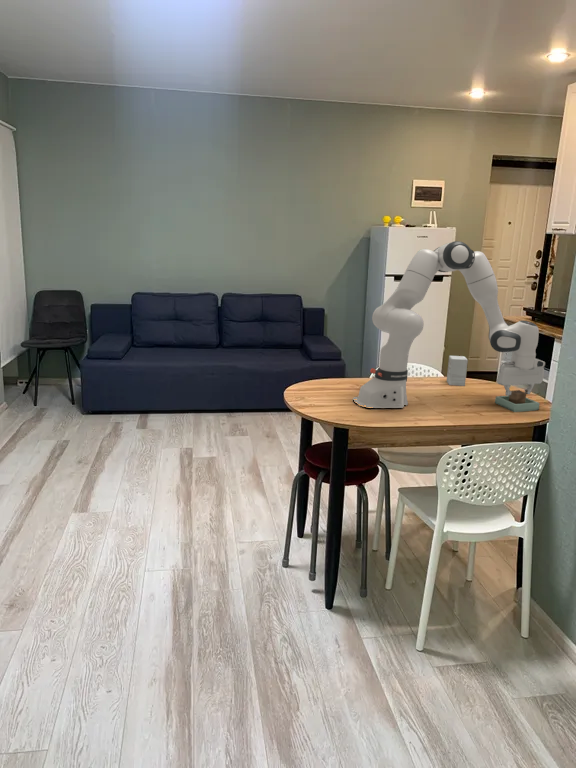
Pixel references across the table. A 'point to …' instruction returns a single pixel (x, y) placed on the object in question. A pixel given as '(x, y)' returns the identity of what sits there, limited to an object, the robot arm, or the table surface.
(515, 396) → the walnut block
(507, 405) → the sage tray
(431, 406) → the table surface
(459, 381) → the supplement box
